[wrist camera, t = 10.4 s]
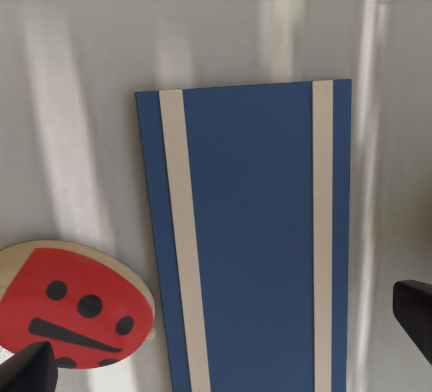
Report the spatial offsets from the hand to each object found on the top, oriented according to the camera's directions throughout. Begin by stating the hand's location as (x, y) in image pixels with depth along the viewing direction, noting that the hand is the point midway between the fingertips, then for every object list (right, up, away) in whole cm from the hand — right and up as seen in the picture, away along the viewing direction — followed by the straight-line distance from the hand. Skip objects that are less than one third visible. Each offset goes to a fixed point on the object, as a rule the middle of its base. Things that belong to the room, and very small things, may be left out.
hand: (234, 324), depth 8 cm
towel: (+2, -1, +12) cm, 12 cm away
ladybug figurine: (-9, -2, +11) cm, 14 cm away
